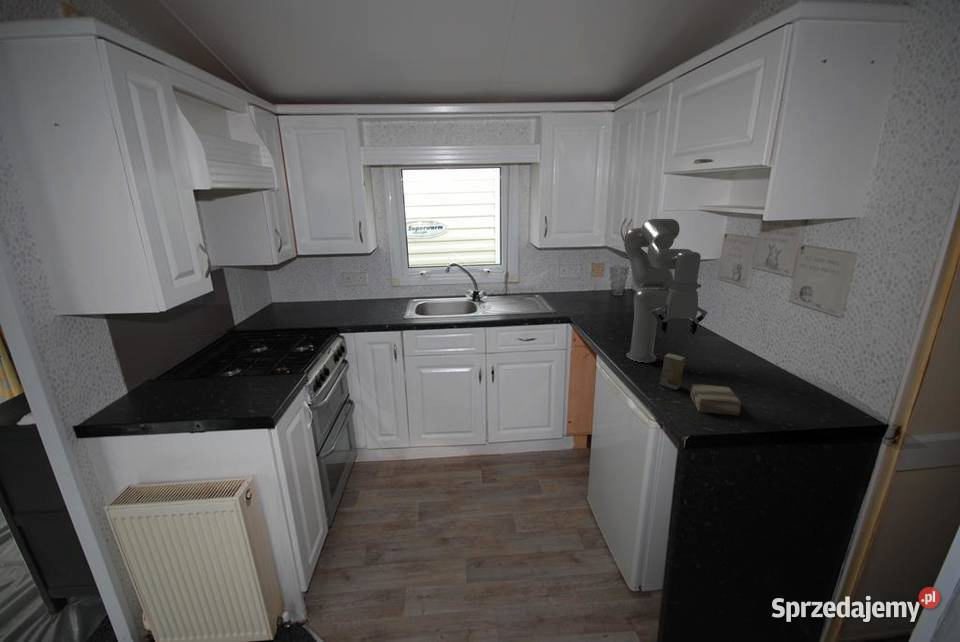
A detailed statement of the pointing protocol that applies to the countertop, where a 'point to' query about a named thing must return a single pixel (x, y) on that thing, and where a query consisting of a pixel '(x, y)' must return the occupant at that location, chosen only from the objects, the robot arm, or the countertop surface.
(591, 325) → the countertop surface
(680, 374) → the skincare box
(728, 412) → the birch block
